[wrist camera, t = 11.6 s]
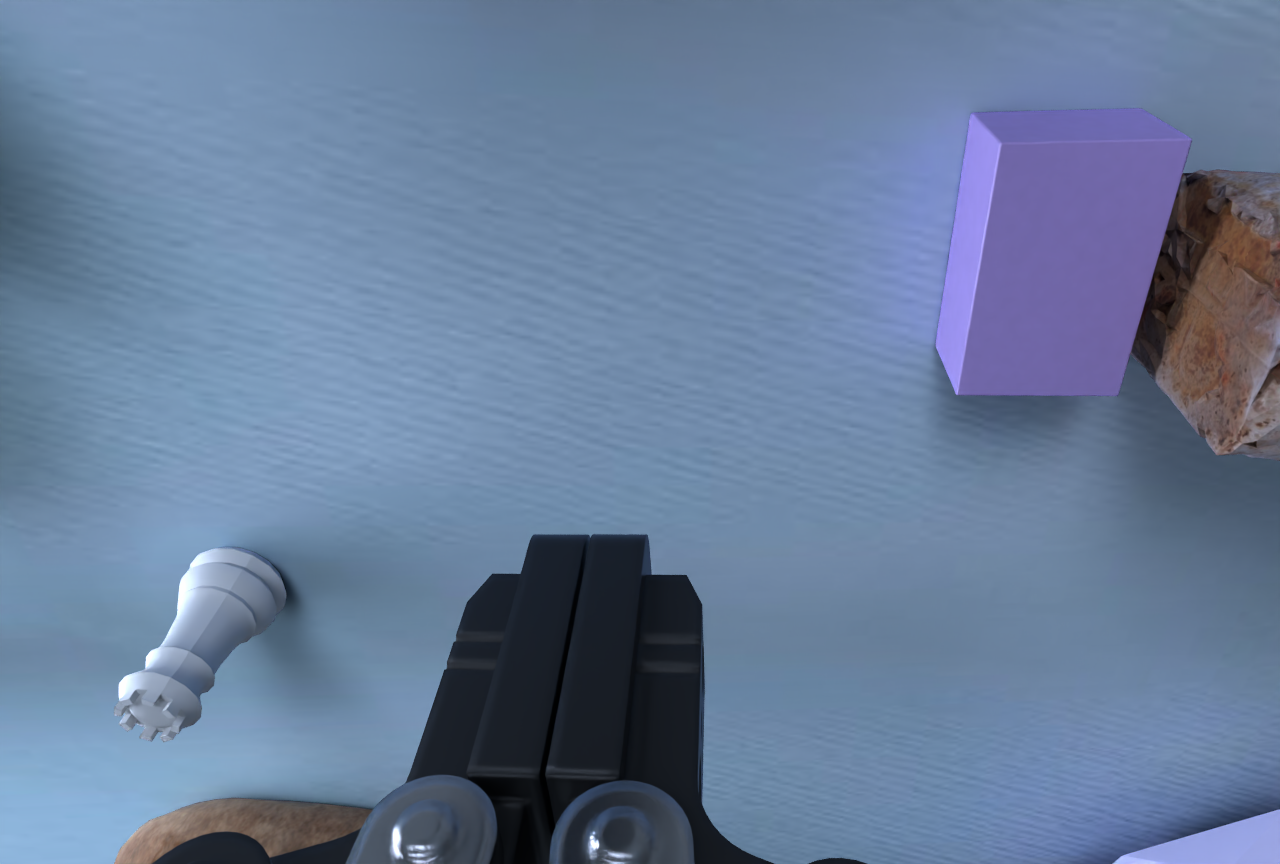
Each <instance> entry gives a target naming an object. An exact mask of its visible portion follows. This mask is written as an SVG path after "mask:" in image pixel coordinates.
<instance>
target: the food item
mask: <svg viewBox="0 0 1280 864" xmlns="http://www.w3.org/2000/svg"><path fill="white" fill-rule="evenodd" d="M1130 354H1131V355H1132V356H1133V357H1134V358H1135V359H1136V360H1137V362H1139V363H1140V364H1141V365H1143V366H1144V367H1145V368H1146V370H1147V371H1148V373H1149V375H1150V376H1151V378H1152V379H1153V380H1154V381H1155V382H1156V384H1157V385H1158V386H1159V388H1160V389H1161V390H1162V391H1163V392H1164V393H1165V394H1166V395H1168V396H1169V398H1170V399H1171V401H1172V402H1173V403H1174V405H1175V406H1176V407H1177V408H1178V409H1179V410H1180V412H1181V413H1182V414H1183V416H1184V417H1185V418H1186V420H1187V421H1188V422H1189V423H1190V425H1191V426H1192V427H1193V428H1194V429H1195V431H1196V432H1197V433H1198V434H1199V436H1200V437H1203V438H1206V440H1207V443H1208V445H1209V446H1210V447H1211V448H1212V450H1213V451H1214V452H1215V454H1216V455H1237V454H1245V455H1246V456H1248V457H1254V458H1266V459H1271V460H1277V461H1280V173H1265V172H1238V171H1227V170H1213V171H1204V170H1199V171H1196V172H1193V173H1182V177H1181V180H1180V184H1179V187H1178V191H1177V194H1176V198H1175V201H1174V204H1173V208H1172V211H1171V215H1170V218H1169V222H1168V225H1167V229H1166V232H1165V236H1164V239H1163V243H1162V246H1161V249H1160V253H1159V256H1158V260H1157V263H1156V267H1155V270H1154V274H1153V277H1152V281H1151V284H1150V288H1149V291H1148V294H1147V298H1146V301H1145V305H1144V308H1143V312H1142V315H1141V319H1140V322H1139V326H1138V329H1137V333H1136V336H1135V339H1134V343H1133V346H1132V350H1131V353H1130Z"/></svg>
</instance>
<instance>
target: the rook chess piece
mask: <svg viewBox="0 0 1280 864" xmlns="http://www.w3.org/2000/svg"><path fill="white" fill-rule="evenodd" d="M286 595H287V594H286V591H285V587H284V584H283V581H282V579H281V576H280V573H279V572H278V571H277V570H276V569H275V567H274V566H273V565H272V564H271V563H270V562H269V561H268V560H266V559H264V558H263V557H261V556H260V555H258V554H257V553H255V552H252V551H248V550H245V549H242V548H239V547H221V548H215V549H212V550H209V551H206V552H203V553H201V554H199V555H198V556H197V557H196V558H195V559H194V561H193V562H192V563H191V564H190V569H189V570H188V572H187V573H186V574H185V575H184V576H183V577H182V579H181V582H180V586H179V600H178V609H177V611H178V614H177V617H176V619H175V621H174V623H173V625H172V627H171V629H170V631H169V633H168V635H167V637H166V639H165V640H164V642H163V643H162V645H161V646H160V647H159V648H157V649H154V650H152V651H151V652H150V653H149V654H148V655H147V656H146V668H145V670H142V671H139V672H136V673H133V674H130V675H127V676H125V677H124V679H123V680H122V681H121V682H120V683H119V698H120V700H119V702H118V703H117V704H116V706H115V707H114V715H115V716H121V717H122V715H123V714H124V713H125V716H124V717H123V718H122V720H121V721H120V723H119V725H120V726H122V727H123V728H124V729H125V730H126V731H127V732H128V731H130V730H132V728H133V727H134V725H135V724H136V723H137V724H138V725H140V726H142V727H144V728H145V729H144V730H143V732H142V733H141V735H140V737H139V738H141V739H144V740H148V741H151V742H152V740H153V739H154V737H155V736H156V734H157V733H158V732H163V733H162V735H161V736H160V738H161V739H162V741H163V742H166V741H169V740H173V739H174V737H175V736H176V734H179V733H180V731H181V729H183V728H185V727H188V726H191V725H194V724H195V723H196V722H197V721H198V720H199V719H200V718H201V710H202V706H201V701H200V695H201V693H205V692H208V691H209V690H210V689H211V688H212V687H213V686H214V679H215V676H214V675H215V673H216V671H217V670H218V668H219V667H220V665H221V664H222V663H223V661H224V660H225V659H226V658H227V657H228V656H229V654H230V653H231V652H232V651H233V650H234V649H235V647H237V646H238V645H239V644H241V643H244V642H247V641H248V640H249V639H250V638H251V637H252V636H256V635H259V634H261V633H262V632H263V631H264V630H265V629H266V628H267V627H268V626H269V625H270V624H271V623H272V622H273V621H274V620H275V616H276V615H277V614H278V613H279V612H280V611H281V610H282V609H283V608H284V606H285V601H286Z"/></svg>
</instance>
